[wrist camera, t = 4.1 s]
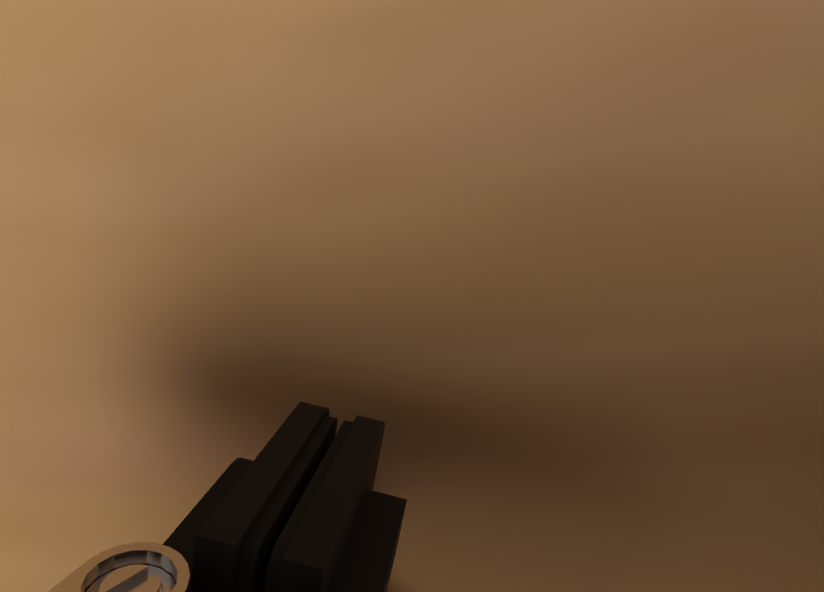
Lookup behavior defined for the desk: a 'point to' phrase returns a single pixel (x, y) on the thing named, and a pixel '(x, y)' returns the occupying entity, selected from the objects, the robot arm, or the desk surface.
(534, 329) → the desk surface
